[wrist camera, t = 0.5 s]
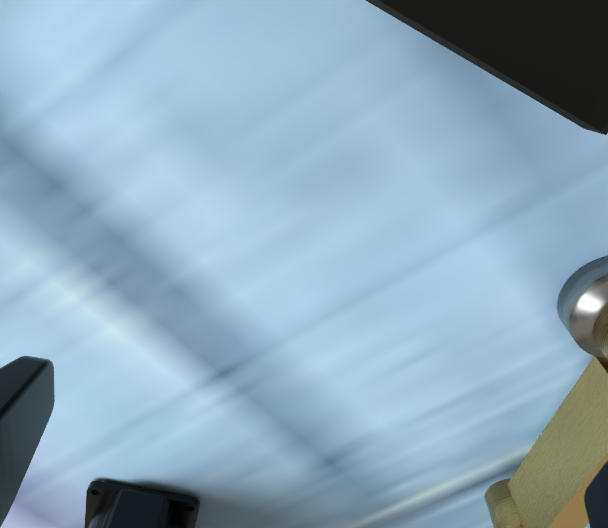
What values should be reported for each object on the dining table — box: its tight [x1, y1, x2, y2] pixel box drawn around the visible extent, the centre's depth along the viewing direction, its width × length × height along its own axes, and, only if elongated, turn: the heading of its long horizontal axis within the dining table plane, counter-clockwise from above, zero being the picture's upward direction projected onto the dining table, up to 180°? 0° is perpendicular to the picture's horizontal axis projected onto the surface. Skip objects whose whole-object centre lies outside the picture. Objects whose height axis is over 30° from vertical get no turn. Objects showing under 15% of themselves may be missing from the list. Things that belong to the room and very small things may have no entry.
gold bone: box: [485, 306, 608, 528], centre depth 23 cm, size 14×3×4 cm, turn 166°
